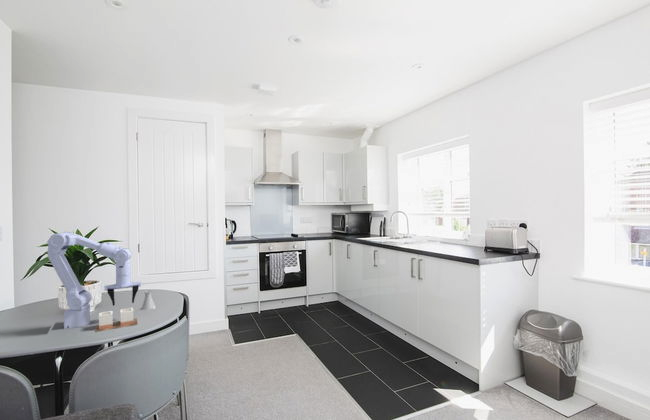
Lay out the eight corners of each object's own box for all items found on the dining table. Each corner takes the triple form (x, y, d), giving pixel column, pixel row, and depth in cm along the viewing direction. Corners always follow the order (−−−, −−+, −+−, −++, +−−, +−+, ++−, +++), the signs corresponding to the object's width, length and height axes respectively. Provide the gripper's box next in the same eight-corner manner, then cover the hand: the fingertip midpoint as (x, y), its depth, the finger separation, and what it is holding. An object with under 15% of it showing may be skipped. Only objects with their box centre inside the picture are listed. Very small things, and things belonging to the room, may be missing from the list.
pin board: (94, 335, 140) (94, 322, 140) (95, 328, 148) (95, 316, 148) (137, 327, 148) (137, 315, 148) (136, 321, 157) (136, 309, 157)
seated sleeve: (99, 329, 143) (98, 315, 142) (99, 325, 147) (99, 312, 147) (112, 327, 145) (112, 313, 145) (112, 323, 149) (112, 310, 149)
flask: (149, 313, 168) (149, 293, 168) (137, 312, 170) (136, 293, 170) (159, 308, 175) (158, 290, 175) (147, 308, 177) (147, 289, 177)
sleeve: (120, 325, 147) (120, 312, 147) (120, 322, 151) (120, 309, 151) (133, 323, 149) (133, 310, 149) (133, 320, 154) (133, 307, 154)
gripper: (104, 278, 146) (104, 308, 147) (141, 274, 154) (141, 303, 154) (104, 275, 152) (105, 304, 153) (140, 272, 160) (140, 299, 160)
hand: (123, 303), depth 154 cm, fingers open, 7 cm apart
